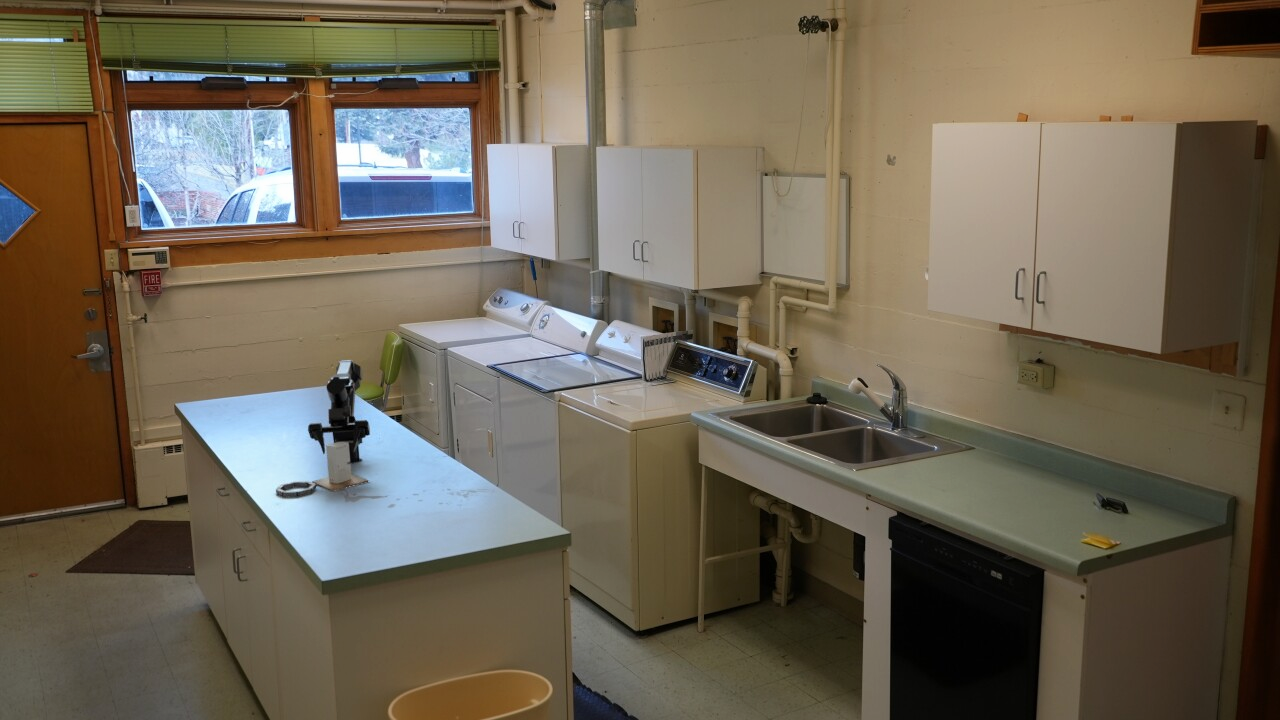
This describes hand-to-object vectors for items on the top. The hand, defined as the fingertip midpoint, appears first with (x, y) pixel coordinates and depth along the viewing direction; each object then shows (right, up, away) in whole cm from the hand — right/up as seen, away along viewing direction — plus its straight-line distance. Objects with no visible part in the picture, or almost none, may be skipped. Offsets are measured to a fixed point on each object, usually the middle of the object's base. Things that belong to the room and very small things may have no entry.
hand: (338, 452), depth 352 cm
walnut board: (0, -10, +1) cm, 10 cm away
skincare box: (0, -9, +1) cm, 9 cm away
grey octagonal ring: (-11, -12, -7) cm, 18 cm away
